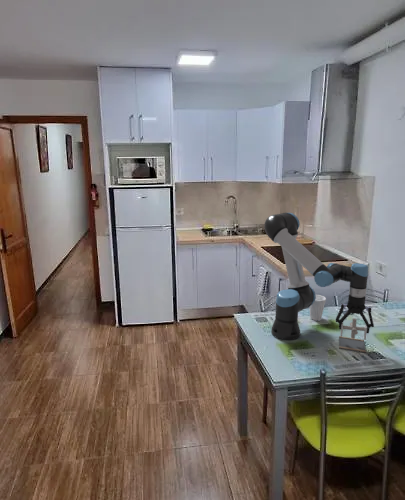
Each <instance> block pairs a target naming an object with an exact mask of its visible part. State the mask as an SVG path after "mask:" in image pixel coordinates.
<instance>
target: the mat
mask: <svg viewBox="0 0 405 500" xmlns="http://www.w3.org/2000/svg"><path fill="white" fill-rule="evenodd" d="M338 349H339V350H345V351H352V352H356V353H362V354H366V346H365V340H364V339H361V338H356V337H355V338H351V337H347V336H343V335H342V336H341V335H339V336H338Z"/></svg>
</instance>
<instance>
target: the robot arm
mask: <svg viewBox="0 0 405 500" xmlns="http://www.w3.org/2000/svg"><path fill="white" fill-rule="evenodd" d="M264 221H265V222H264V224H263V225H264V232H265V233H266V235H267V237H268V238H269V239H270V240H271V241H272V242H273V243H275V244H278V245H280V247H281V249H282V250H281V251H282V254H283V258H284V264H285V267H286V268H285V269H286V272H287V277H288V282H289V284H288V286H287V289H282V290H279V291H278V292H277V294H276V299H275V319H274V321H273V324H272V326H271V330H270V331H271V334H272V336H273V337H275V338H277V339H279V340H284V341H285V340H286V341H293V340H297V339H299V338H300V337H301V329H300V325H299V321H298V320H299V313H300V312H302V311H303V310H305V309H308V308H309V307H310V306H311V305H312V304H313V303H314V301H315V298H316V295H317V294H316V291H315V290H314V288H312V286H310V283H309V282H308V281H306V278H305V273H304V269H303V268H305V270H307V272H309V273H310V274H311V275H312V276H313V279H314V283H315V284H316V285H317V286H318V287H320V288H326V287H330V286H331V285H332V284H333V285H334V283H337V282H339V281H344V282H347V283H348V282H349V289H348V290H349V291H348V298H347V303H343V302H342V303H340V308H339V310H338V313H337V316H336V317H335V322H336V323H338V329H339V330H340V336H342V337H343V330H344V329H343V326H344V321H345V320H346V319H347V317H349V316H350V315H351V314H356V315H359V316H361V318H362V320H363V322H364V324H365V325H364V327H365V331H363V340H364V341H366V340H367V334H369V333H370V328H375V325H374V321H373V316H372V307H371V305H369V306H366V295H367V285H368V279H369V266H368V265H367V264H365V263H352V264H351V266H349V265H346V264H345V265H343V264H340V263H337V262H336V263H333V262H330V263H328V264H327V265H325V264H324V263H323V262H322V261H321V260H320V259H318V258H317V256H315V255H314V254H313V253H312V252H311V251H310V250H308V249H307V247H305V246H304V245H303V244H302V243H301V242H300V241H298V240H297V238H298V236H299V231H298V230H299V227H300V219H299V218H298V216H297V215H296V214H294V213H292V212H281V213H277V214H271V215H269V216H268V217H267V218H266V219H265V220H264ZM346 308H347V311H346V312H345V313H344V314H343V312H344V309H346ZM364 310H366V312H367V313H368V314H367V315H368V319H369V321H368V320H367V317H366V316H365V314H364ZM342 314H343V315H342Z"/></svg>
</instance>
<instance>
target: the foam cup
mask: <svg viewBox="0 0 405 500" xmlns="http://www.w3.org/2000/svg"><path fill="white" fill-rule="evenodd" d="M315 295H316V298H315V301H314V303H313V304H312V305H311V306H310V307H308V308H309V318H310V320H312V319H313V320H312V321H317V320H318V321H321V320H322V318H323V312H324V310H325V309H324V308H325V304H326V301H327V298H326V296H324V295H320V294H315Z"/></svg>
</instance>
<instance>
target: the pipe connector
mask: <svg viewBox="0 0 405 500" xmlns="http://www.w3.org/2000/svg"><path fill="white" fill-rule="evenodd" d="M351 321H352V322H350V323H349V325H343V330H349V331H351V334H350V338H355V339H356V335H358V333H359V332H358V331H360V332H361V331H363V332H364V331H365V326H357V318H354V317H353V318H352V320H351Z"/></svg>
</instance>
